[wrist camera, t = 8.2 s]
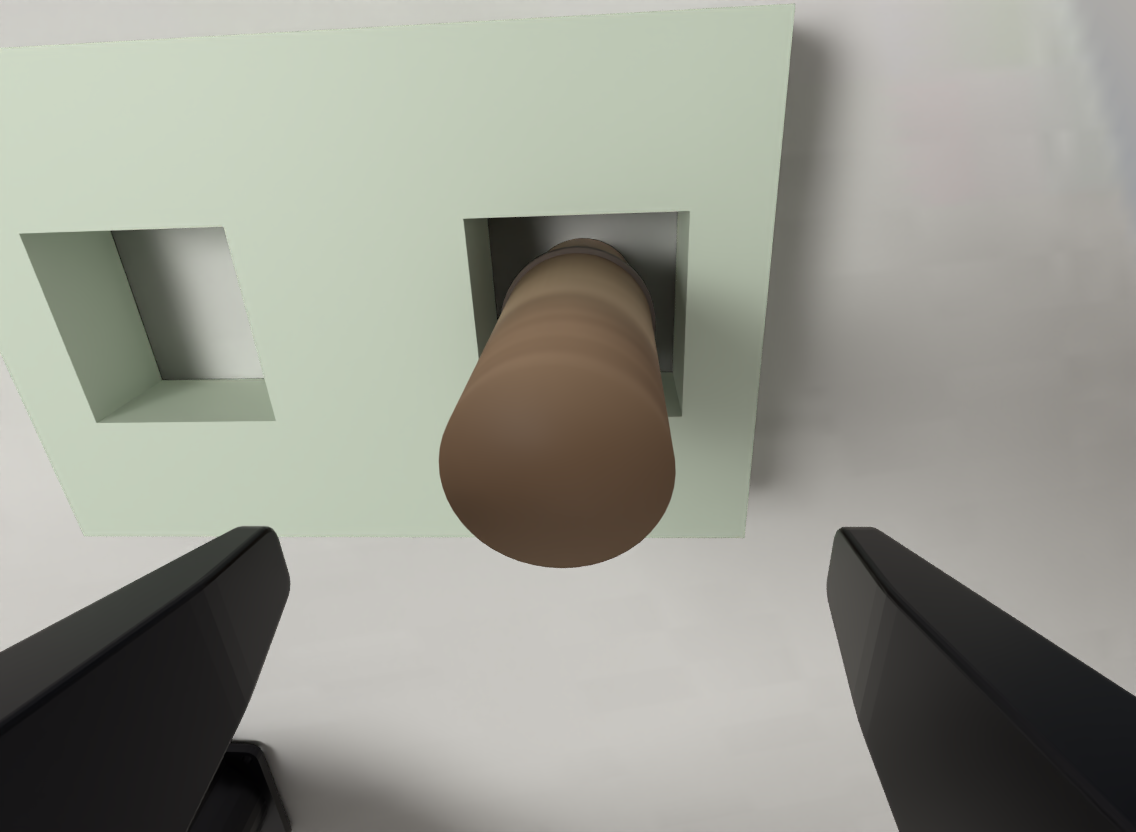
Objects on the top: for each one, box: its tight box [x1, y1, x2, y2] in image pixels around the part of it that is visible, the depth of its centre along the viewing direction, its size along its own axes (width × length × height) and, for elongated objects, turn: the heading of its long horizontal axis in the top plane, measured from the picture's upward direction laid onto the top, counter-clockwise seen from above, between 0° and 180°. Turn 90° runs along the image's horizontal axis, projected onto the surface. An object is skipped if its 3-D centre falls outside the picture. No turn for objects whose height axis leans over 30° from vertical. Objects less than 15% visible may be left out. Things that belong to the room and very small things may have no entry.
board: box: [0, 4, 795, 538], centre depth 18 cm, size 20×13×3 cm, turn 92°
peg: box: [439, 238, 676, 568], centre depth 14 cm, size 4×4×10 cm
